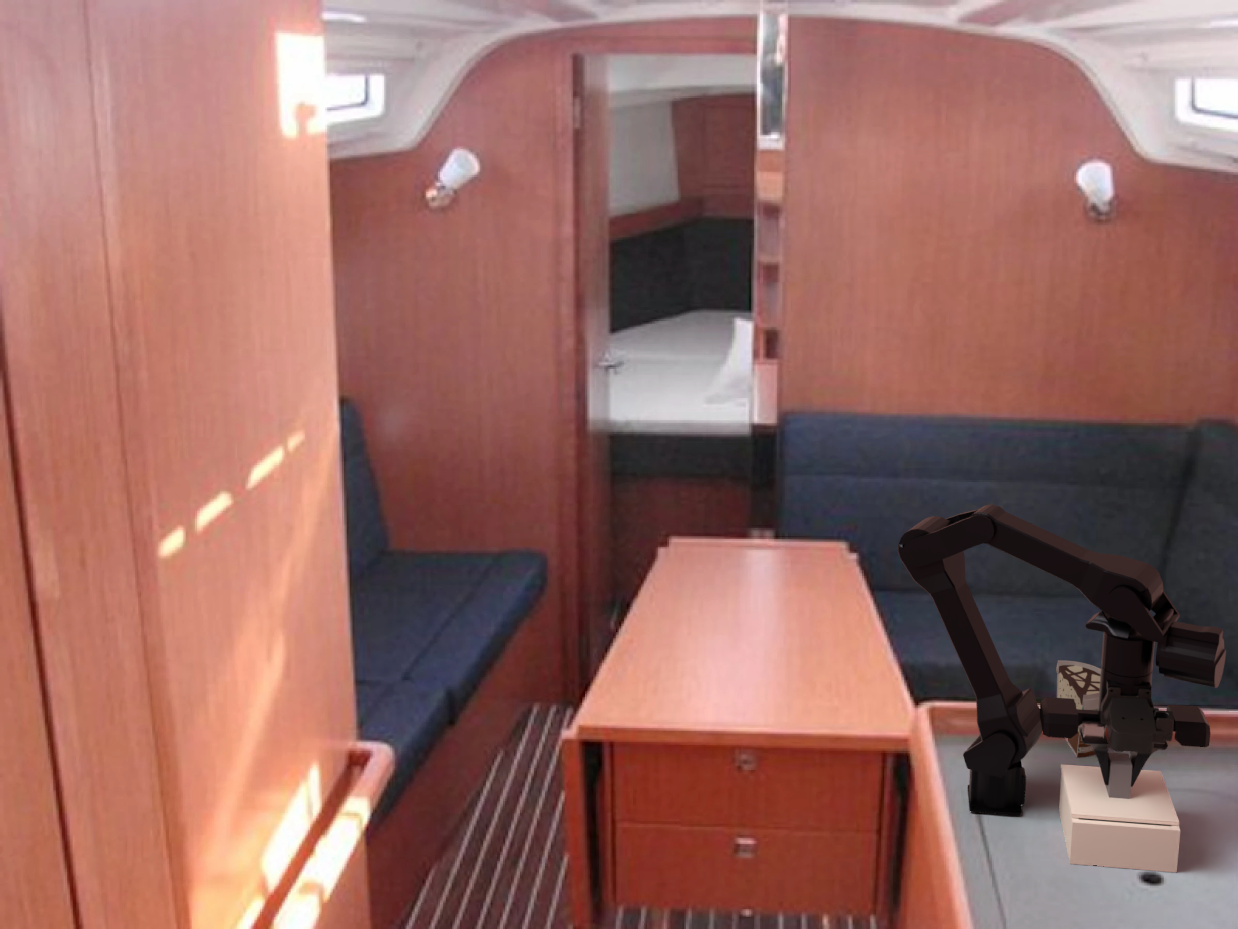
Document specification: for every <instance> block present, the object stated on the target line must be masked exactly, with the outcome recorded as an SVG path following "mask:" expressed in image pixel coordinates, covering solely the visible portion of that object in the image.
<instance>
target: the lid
mask: <svg viewBox="0 0 1238 929" xmlns="http://www.w3.org/2000/svg"><path fill="white" fill-rule="evenodd" d="M1108 763H1109V784H1108V785H1105V783H1104V780H1103V776H1102V772H1101V769H1100V766H1089V765H1088V766H1086V765H1076V764H1075V765H1074V764H1073V765H1072V764H1060V771H1061V772H1062V776H1063V781H1064V785H1065V790H1066V794H1067V799H1068V803H1069V808H1070V812H1071V817H1072V818H1085V819H1098V820H1111V821H1124V822H1138V823H1151V824H1164V825H1178V826H1179V827H1180V820H1179V818H1178V814H1177V812H1176V809H1175V806H1174V804H1173V801H1172V798H1171V796H1170V795H1171V794H1170V793H1169V789H1168V787H1167V785H1166V782H1165V779H1164V776H1163V773H1162V771H1161V770H1150V769H1147V770H1146V769H1142V770H1141V772H1140V774H1139V776H1138V777H1137V779H1136V781H1135V783H1134V785H1133V787H1131V778H1132V763H1131V760H1130V754H1129V753H1124V752H1110V751H1109V752H1108Z"/></svg>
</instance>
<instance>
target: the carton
mask: <svg viewBox="0 0 1238 929" xmlns="http://www.w3.org/2000/svg"><path fill="white" fill-rule="evenodd" d="M1060 774H1061V775H1060V776H1061V777H1060V791H1059V804H1058V805H1059V807H1058V813H1059V812H1060V813H1059V818H1060V822H1061V828H1062V831H1063V837H1065V838H1064V841H1065V842H1066V843H1065V846H1066V851H1067V852H1066V853H1067V856H1068V861H1069V865H1078V866H1079V865H1081V866H1092V867H1094V866H1093V865H1097V866H1096V867H1103V866H1104V868H1106V867H1107V868H1117V869H1129V870H1141V871H1152V872H1153V871H1154V872H1165V873H1166V872H1167V873H1176V872H1178V860H1179V851H1180V850H1179V849H1180V839H1181V828H1180V825H1179V826H1178V825H1164V824H1151V823H1138V822H1124V821H1111V820H1098V819H1085V818H1072V817H1071V812H1070V808H1069V803H1068V799H1067V794H1066V790H1065V785H1064V781H1063V776H1062V772H1061V773H1060Z"/></svg>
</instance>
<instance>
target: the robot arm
mask: <svg viewBox="0 0 1238 929" xmlns="http://www.w3.org/2000/svg"><path fill="white" fill-rule="evenodd" d="M982 544H985V545H988V546H990V547H991V548H994V549H995V550H998V551H1000V552H1002V553H1004V554H1007V555H1009V556H1011V557H1013V558H1016V559H1017V560H1019V561H1021V562H1023V563H1025V564H1028V565H1029V566H1032V567H1034V568H1036V569H1038V570H1039V571H1042V572H1044V573H1046V574H1048V575H1050V576H1053V577H1055V578H1057V579H1059V580H1060V581H1061V580H1062V581H1063V582H1065V583H1068V584H1069V585H1071V586H1073V587H1074V588H1075V589H1077V590H1078V591H1079V592H1080V593H1081V594H1082V595H1083V596H1084V597H1085V598H1086V599H1087V601H1089V603H1090V604H1091V605H1093V606H1094V607H1096V608H1097V609H1099V610H1100V611H1099V612H1096V613H1095V614H1093V615H1092V616H1091V618H1090V619H1089V620H1087V622H1086V623H1085V628H1086V629H1087V630H1091V631H1096V632H1101V633H1102V632H1103V634H1102V636H1103V637H1102V647H1101V648H1102V649H1101V663H1100V664H1101V665H1100V669H1101V676H1100V691H1099V706H1098V711H1097V710H1081V709H1076V705H1075V701H1074V699H1070V698H1057V697H1049V696H1045V697H1044V698H1043V699H1042V700H1040V703H1039V705H1038V703H1037V700H1036V696H1035V692H1034V691H1033V689H1032V688H1027V689H1025V690H1021V689H1020V688H1018V687H1017V686H1016V685H1015V684H1013V682H1012V680H1010V677H1009V675H1008V673H1007V671H1006V669H1005V667H1004V664H1003V662H1002V660H1001V657H1000V654H999V653H998V651H997V650H998V649H997V648H996V646H995V644H994V641H993V639H992V637H991V635H990V632H989V630H988V628H987V625H986V623H985V621H984V619H983V617H982V615H981V612H980V610H979V607H978V605H977V603H976V600H975V598H974V596H973V595H972V591H971V589H970V587H969V584H968V583H967V579H966V562H965V561H966V560H965V559H966V558H965V551H966V550H970V549H971V548H973V547H977V546H979V545H982ZM897 553H898V557H899V559H900V561H901V562H902V564H903V566H904V567H905V569H906V570H907V572H908V573H909V575H910V577H911V578H912V579H913V581H914V582H915V583H916V584H918V585H919V587H920V588H922V589H924V591H925V592H927V593H928V594H929V596H930V597H931V598H932V600H933V604H934V605H935V607H936V609H937V610H936V611H938V612H937V613H939V617H940V619H941V621H942V623H943V626H944V627H945V630H946V632H947V635H948V636H949V639H950V641H951V643H952V646H953V648H954V651H955V652H956V655H957V657H958V659H959V662H960V664H961V666H962V669H963V670H964V672H965V675H966V677H967V680H968V683H969V684H970V686H971V689H972V691H973V693H974V696H975V701H976V724H977V729H978V732H979V735H978V736H977V738H975V740H974V741H973V742H972V743H971V744H970V745H969V747H968V748H967V749H966V750H965V751H964V752H963V754H962V757H963V759H964V760H963V761H964V762H965V766H966V768H967V769H968V770H969V781H968V782H969V784H968V785H967V800H968V810H969V812H970V811H971V812H970V813H973V812H981V813H980V814H985V813H989V814H990V815H1002V816H1012V817H1013V816H1014V817H1015V816H1016V817H1021V816H1022V814H1023V810H1022V809H1023V808H1022V806H1024V805H1025V803H1026V790H1027V789H1026V787H1027V775H1026V769H1025V767H1024V766H1023V764H1022V760H1023V759H1024V758H1025V757H1026V756H1027V754H1028V753H1029V752H1030V750H1031V749H1032V748H1033V747H1034V746H1035V744H1037V742H1038V741H1039V739H1040V738H1041V737H1042V735H1044V736H1046V737H1047V738H1060V739H1064V738H1072V737H1073V736H1075V735H1076V734H1077V733H1078V729H1079V733H1080V737H1081V741H1082V743H1084V744H1086V745H1091V746H1092V748H1093V749H1094V752H1095V757H1096V758H1097V762H1098V765H1099V767H1100V769H1101V772H1102V776H1103V780H1104V783H1105V785H1108V784H1109V763H1108V751H1109V750H1108V749H1109V748H1111V750H1112V751H1115V752H1117V753H1124V752H1130V754H1129V757H1130V760H1131V763H1132V778H1131V787H1133V785H1134V783H1135V781H1136V779H1137V777H1138V776H1139V774H1140V772H1141V770H1143V768H1144V766H1145V764H1146V763H1147V762H1148V760H1149V758H1150V757H1151V756H1152V754H1154V753H1155V752H1157V751H1159V750H1161V751H1164V750H1166V749H1168V746H1169V745H1168V742H1171V741H1172V740H1173V736H1174V739H1175V741H1177V743H1178V744H1179V745H1181V746H1182V747H1192V748H1193V747H1196V748H1207V747H1210V743H1211V742H1210V741H1211V726H1210V724H1209V721H1208V720H1207V717H1206V715H1205V712H1204V711H1203V710H1202V709H1201V708H1200V706H1199V705H1187V704H1186V705H1182V704H1168V705H1167V707H1166V710H1161V709H1160V708H1159V707H1155V706H1154V704H1153V700H1152V680H1153V671H1154V670H1153V668H1154V654H1155V666H1156V668H1158V674H1161V675H1163V677H1164V678H1168V679H1173V680H1176V681H1177V680H1178V681H1181V682H1182V681H1183V682H1186V683H1187V682H1188V683H1191V684H1195V685H1202V686H1204V687H1205V686H1207V687H1210V688H1211V687H1212V688H1214V689H1217V688H1218V687H1219V685H1220V682H1221V680H1222V678H1223V674H1224V669H1225V663H1226V657H1227V656H1226V655H1227V649H1225V640H1224V638H1223V635H1224V630H1223V628H1221V627H1217V626H1201V625H1197V624H1191V623H1186V622H1179V621H1178V619H1179V618H1180V616H1181V615H1180V612H1179V611H1178V610H1177V608H1176V606H1175V605H1174V604H1173V602H1172V601H1171V599H1170V598H1169V596H1168V595H1167V592H1165V590H1164V582H1163V579H1162V577H1161V575H1160V572H1159V571H1158V570H1157V569H1156V567H1154V566H1152V565H1151V564H1149V563H1147V562H1144V561H1141V560H1137V559H1134V558H1130V557H1128V556H1127V557H1126V556H1123V555H1119V554H1111V553H1101V552H1097V551H1092V550H1089V549H1087V548H1085V547H1083V546H1081V545H1079V544H1077V543H1075V542H1072V541H1070V540H1068V539H1066V538H1064V537H1061V536H1059V535H1057V534H1055V533H1053V532H1051V531H1048V530H1046V529H1044V528H1042V527H1039V526H1037V525H1036V524H1033V523H1031V522H1029V521H1027V520H1025V519H1023V518H1020V517H1019V516H1016V515H1014V514H1012V513H1010V512H1008V511H1005V509H1004V508H1002V507H1001V506H1000V505H996V504H986V505H984V506H981V507H980V508H978V509H974V510H969V511H965V512H961V513H958V514H955V515H953V516H949V517H948V518H947V517H946V518H944V517H943V516H937V515H934V516H929V517H926V518H924V519H923V520H921V521H920V522H918V523H917V524H916V525H914V526H913V527H911V528H910V529H909V530H907V531H906V532H904V533H903V534H902V536H901V537H900V538H899V542H898V545H897ZM1151 611H1152V612H1153V613H1154V616H1153V615H1152V613H1151ZM1155 643H1157V645H1156V651H1155ZM1155 652H1156V653H1155ZM1105 730H1106V731H1107V733H1105ZM1106 734H1107V735H1106ZM1107 737H1108V739H1107ZM989 814H988V815H989Z"/></svg>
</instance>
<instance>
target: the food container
mask: <svg viewBox="0 0 1238 929" xmlns="http://www.w3.org/2000/svg"><path fill="white" fill-rule="evenodd" d="M1055 673H1057V675H1056V676H1057V677H1056V698H1070V699H1074V701H1075V705H1076V709H1081V710H1097V711H1098V706H1099V691H1100V676H1101V667H1098V666H1095V665H1092V664H1089V663H1085V662H1081V661H1073V660H1064V659H1063V660H1061V659H1060V660H1057V663H1056V670H1055ZM1106 731H1107V729H1106V730H1105V734H1107V733H1106ZM1067 745H1068V746H1069V748H1070V749H1071V751H1072V753H1073V754H1074V755H1075V757H1076V758H1078V759H1079V758H1087V757H1091V756H1096V754H1095V752H1094V749H1093V748H1092V746H1091V745H1086V744H1084V743H1082V741H1081V737H1080V733H1079V729H1078V733H1077V734H1076V735H1075V736H1073V737H1072V738H1068V743H1067Z"/></svg>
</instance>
